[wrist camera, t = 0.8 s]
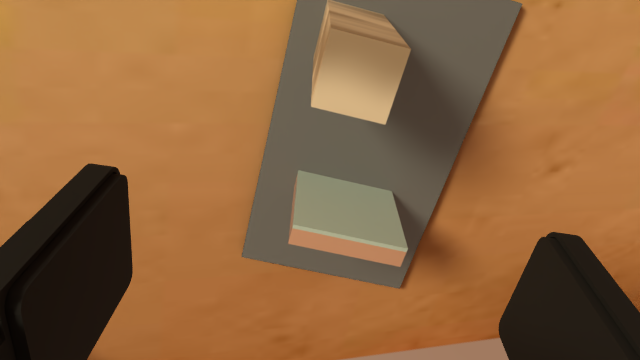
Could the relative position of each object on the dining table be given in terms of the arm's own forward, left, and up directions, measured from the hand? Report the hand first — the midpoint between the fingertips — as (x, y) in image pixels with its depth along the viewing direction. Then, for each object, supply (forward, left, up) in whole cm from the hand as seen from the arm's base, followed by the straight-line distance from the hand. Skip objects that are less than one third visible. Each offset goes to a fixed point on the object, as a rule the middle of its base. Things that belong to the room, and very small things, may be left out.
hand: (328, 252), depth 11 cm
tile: (-11, -5, -25) cm, 28 cm away
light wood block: (+1, -2, -25) cm, 25 cm away
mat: (-7, -5, -26) cm, 27 cm away
